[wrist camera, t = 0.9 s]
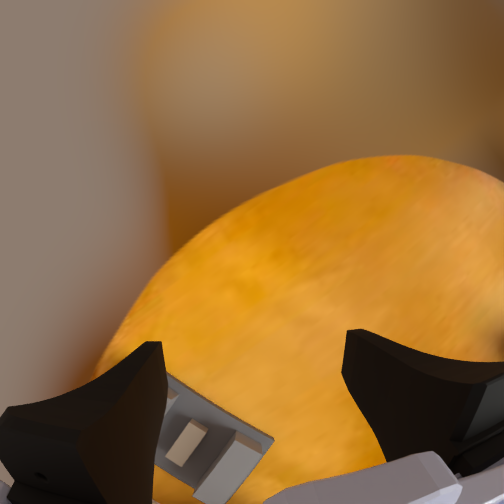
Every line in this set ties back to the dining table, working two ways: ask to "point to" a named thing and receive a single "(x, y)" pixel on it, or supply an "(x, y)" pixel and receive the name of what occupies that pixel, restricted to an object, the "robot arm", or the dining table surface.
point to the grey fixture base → (207, 445)
